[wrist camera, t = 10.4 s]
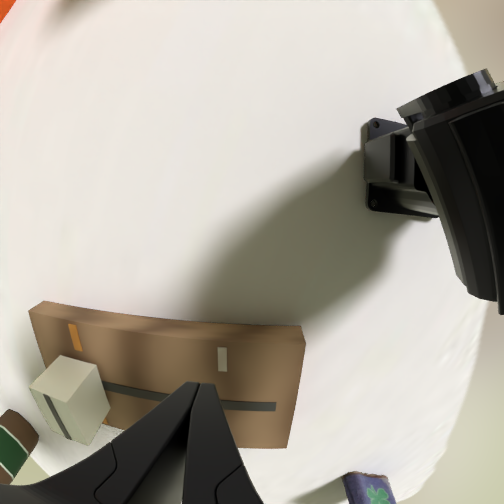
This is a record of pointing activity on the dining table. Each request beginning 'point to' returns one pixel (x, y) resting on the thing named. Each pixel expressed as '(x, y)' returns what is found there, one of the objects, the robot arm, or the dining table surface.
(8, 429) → the beer bottle
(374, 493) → the flask
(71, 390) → the fader knob
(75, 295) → the dining table surface
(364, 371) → the dining table surface
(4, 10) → the flowerpot
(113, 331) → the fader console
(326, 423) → the dining table surface
